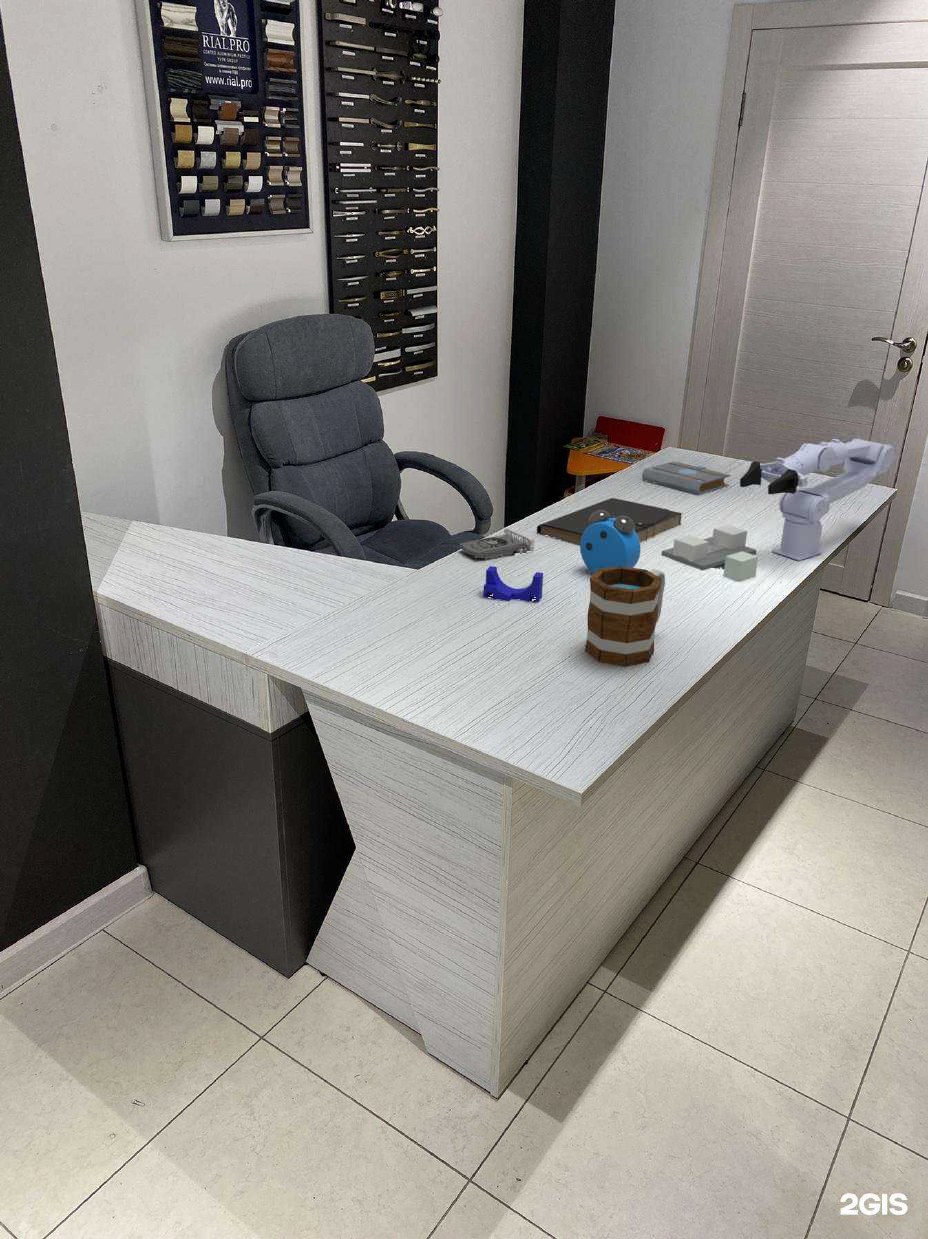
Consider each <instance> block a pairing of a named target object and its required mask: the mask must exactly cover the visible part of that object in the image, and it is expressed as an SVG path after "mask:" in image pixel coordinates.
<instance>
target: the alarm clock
mask: <svg viewBox="0 0 928 1239" xmlns="http://www.w3.org/2000/svg"><path fill="white" fill-rule="evenodd" d="M607 517H612V518H608V519H605V518H607ZM613 517H615V516H613V515H609V513H608V512H607V511H604V510H600V511H597V510H596V512H594V513H593V514H591V516H590V518H589V523H593V522H596V521H600V522H597V523H594V524H592V525H590V526H589V527H588V528H587V529H586V530H585V531H584V533H583V535H582V537H581V541H580V545H579V550H580V555H581V559H582V561H583V563H584V565H585V566H586V568H587V569H588V570H589V571H590V572H591V573H592V574H594V572H595V571H596V570H597V569H603V568H609V567H616V566H624V567H631V568H635V566H636V565H637V564H638V562H639V559H640V556H641V542H640V541H639V538H638V535H637V533H636V532H635V530H634V528H635V525H634V522H633V521H632V520H631V519H630V518H629V517H627V516H619V517H617V518H613ZM602 519H605V520H602ZM601 520H602V521H601Z"/></svg>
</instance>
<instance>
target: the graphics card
mask: <svg viewBox="0 0 928 1239" xmlns="http://www.w3.org/2000/svg"><path fill="white" fill-rule="evenodd" d="M503 533H504V534H501V535H495V536H490V537H485V538H481V539H475V540H471V541H467V542H461V543H459V550H462V551H463V552H465V553H466V554H467V555H468V554H469V555H471V556H474V558H475V557H477V558H482V557H483V558H485V559H486V560H488V559H487V558H491V559H493V558H492V557H496V558H500V557H499V556H501V555H506V556H509V555H508V554H511V555H512V554H514V552H515V551H516V552H517V553H520V554H522V553H527V551H534V549H535V540H534V539H533V540H532V539H531V540H530V538H528V537H526V536H524V535H522V534H519V533H518V532H515V531H513V530H511V529H508V528H504V529H503ZM519 538H520V539H519ZM516 552H515V553H516ZM527 554H528V553H527ZM522 555H523V554H522ZM501 557H502V556H501ZM483 558H482V559H483ZM485 559H484V560H485Z"/></svg>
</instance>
